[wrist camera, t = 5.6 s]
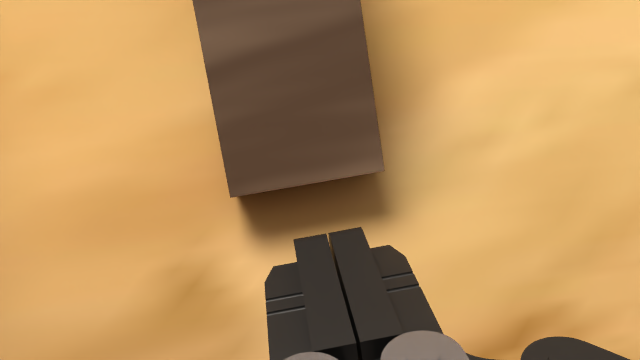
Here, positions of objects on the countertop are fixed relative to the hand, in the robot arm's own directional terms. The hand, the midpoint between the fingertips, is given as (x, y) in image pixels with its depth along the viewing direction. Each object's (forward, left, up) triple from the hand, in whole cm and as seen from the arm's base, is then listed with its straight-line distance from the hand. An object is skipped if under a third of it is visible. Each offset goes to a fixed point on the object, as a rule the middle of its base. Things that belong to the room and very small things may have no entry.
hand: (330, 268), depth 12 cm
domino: (0, +4, -5) cm, 7 cm away
